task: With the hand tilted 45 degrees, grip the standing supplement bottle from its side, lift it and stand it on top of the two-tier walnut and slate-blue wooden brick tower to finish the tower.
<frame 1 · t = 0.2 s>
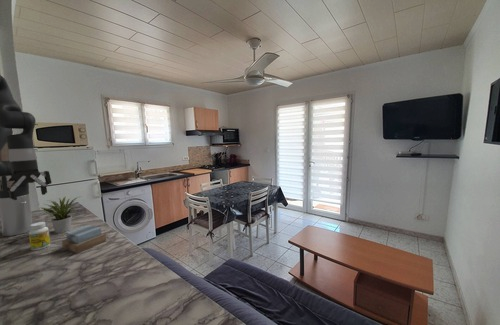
hand: (29, 197, 84), 18 cm above the counter, tool pointing down, fingers open, 8 cm apart
supplement bottle: (40, 247, 78), on the counter
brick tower: (85, 244, 80), on the counter
house plant: (65, 229, 94), on the counter
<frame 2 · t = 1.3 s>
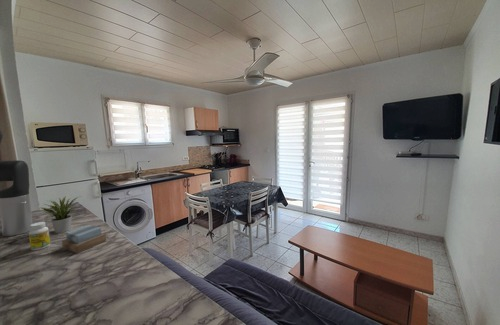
nothing on the counter moved.
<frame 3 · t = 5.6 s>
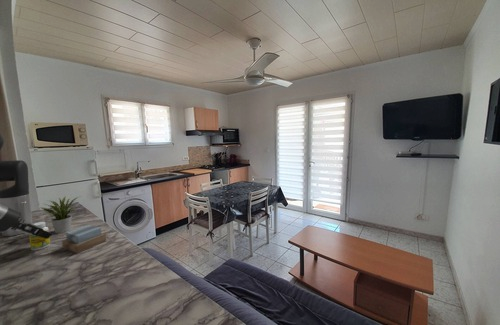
hand: (45, 234, 79), 4 cm above the counter, tool tilted 45°, fingers closed on supplement bottle, 5 cm apart
supplement bottle: (40, 247, 78), on the counter, touching gripper
everything else where it was.
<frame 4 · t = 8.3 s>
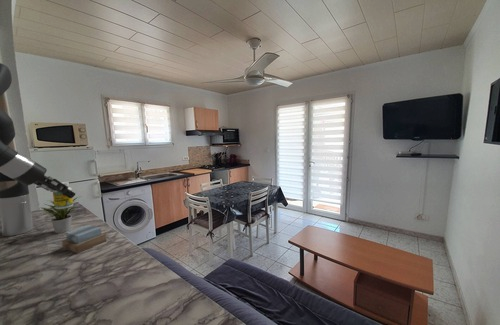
hand: (69, 195, 78), 20 cm above the counter, tool tilted 45°, fingers closed on supplement bottle, 5 cm apart
supplement bottle: (64, 207, 77), point 16 cm above the counter, touching gripper
everything else where it was.
when the fingers open (11 cm above the counter, at t = 11.2 s): supplement bottle drops 1 cm, resting on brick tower.
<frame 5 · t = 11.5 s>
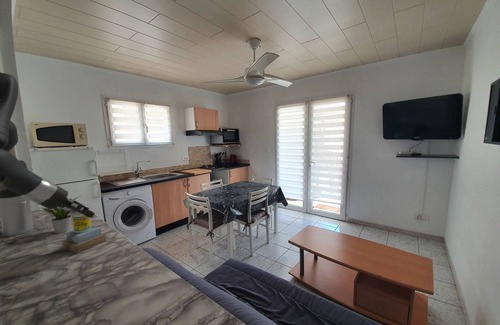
hand: (86, 214, 80), 12 cm above the counter, tool tilted 45°, fingers open, 8 cm apart
supplement bottle: (82, 230, 79), point 6 cm above the counter, touching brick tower
everything else where it was.
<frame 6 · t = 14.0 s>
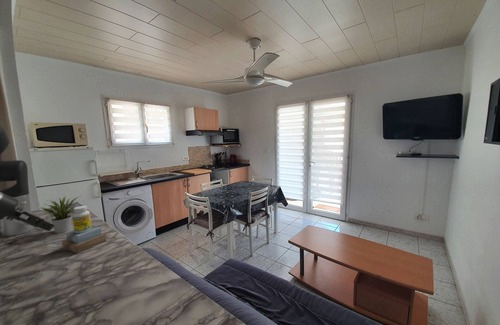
hand: (44, 226, 68), 12 cm above the counter, tool tilted 45°, fingers open, 8 cm apart
nothing on the counter moved.
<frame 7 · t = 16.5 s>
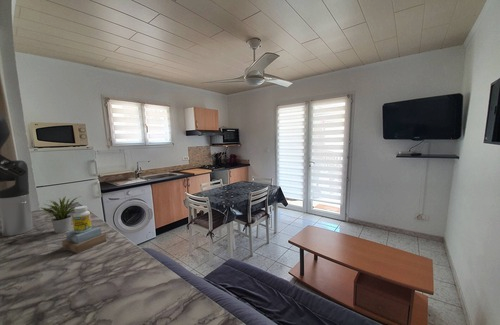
hand: (17, 173, 67), 31 cm above the counter, tool tilted 45°, fingers open, 8 cm apart
nothing on the counter moved.
at the end: supplement bottle 0.3 cm off-centre on the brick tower, point 5.8 cm above the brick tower's base; supplement bottle tilted 0°; the gripper is holding nothing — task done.
